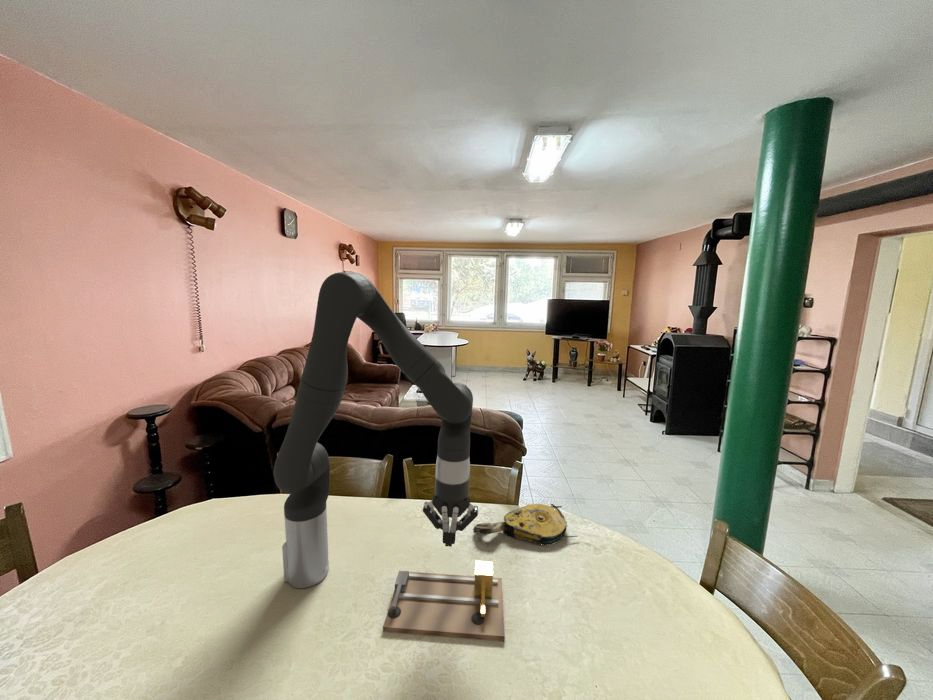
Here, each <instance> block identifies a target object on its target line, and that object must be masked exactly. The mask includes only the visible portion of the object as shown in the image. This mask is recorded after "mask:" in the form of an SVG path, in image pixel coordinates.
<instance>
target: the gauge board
mask: <svg viewBox="0 0 933 700" xmlns="http://www.w3.org/2000/svg"><path fill="white" fill-rule="evenodd" d="M502 580H503V579H502V578H501V577H493V583H492V599H488V598H485V618H484V619H482V618H481V598H474V588H475V575H474V576H473V575H464V574H463V575H460V574H449V573H448V574H447V573H446V574H445V573H434V572H418V571H417V572H416V571H408V570H399V571H398V573H397V576H396V579H395V582H394V591H393V594H392V597H391V600H390V603H389V607H388V610H387V612H386V615H385V619H384V622H383V626H382V632H383V633H395V634H407V635H417V636H418V635H419V636H432V637H443V638H457V639H469V640H470V639H471V640H482V641H493V642H495V641H496V642H505V636H506V635H505V622H504V620H505V617H504V600H503V598H504V597H503V581H502Z"/></svg>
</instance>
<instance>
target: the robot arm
mask: <svg viewBox="0 0 933 700" xmlns="http://www.w3.org/2000/svg"><path fill="white" fill-rule="evenodd" d="M357 319H359V320H360V321H361V322H362V323H364V324H365V325H366V326H368V327H369V328H370V329H371V330H372V332H374V334H376V335H375V336H377V337H378V338H379V340H380V342H381V343H382V344H383V346H384V347H385V348H384V349H386V351H387V353H388V355H389V357H390V358H391V360H392V361H393V363H394V364H395V365H396V367H397V368H398V369H399V370H400V371H401V372H402V373H403V374H404V376H406V377H407V378H408V379H409V380H410V382H412V383H413V385H415V386H416V387H417V388H418V389H419V391H420V392H421V393H422V395H423V396H424V398H425V399H426V400H427V403H429V406H431V407H432V409H433V410H434V412H435V413H436V414H437V415H438V416H439V417H440V419H441V421H440V422H441V423H440V429H439V433H438V437H437V438H438V439H437V455H436V462H435V478H434V494H433V496H432V500H430V501H425V502H424V504H423V507H422V512H423V514H424V515H425V516H426V517H427V518H428V520H429V522H430V523H431V525H433V527H434V528H435V529H436V530H439V529H440V530H441V531H442V543H443V544H444V546H445V547H452V546H453V545H455V543H456V534H457V531H460V532H463V531H464V530H465V529H467V527H468V526H469V525H470V524H471V523H472V522H473V521H474V520H475V519H476V518H477V517H478V516H479V507H478V505H474V504H472V503H471V499H470V497H469V488H470V475H471V474H470V473H471V461H470V452H471V424H472V423H471V422H472V413H473V405H474V396H473V392H472V390H471V389H470V387H468V386H467V385H466V384H465V383H462V382H454V381H453V380H452V379H451V378H450V377H449V376H448V374H446V370H445V367H444V366H443V365H442V363H441V362H440V360H438V359H437V358H436V357H435V356H434V355H433V354H432V353H431V352H430V351H429V350H428V349H427V348H426V347H425V346H424V345H423V343H421V342H420V341H419V340H418V339H417V337H415V335H414V334H413V333H412V332H411V331H410V330H409V329H408V328H407V327H406V325H405V324H404V323H403V322H402V321H401V319H400V318H399V317H398V315H397V314H396V313H395V312H394V311H393V309H392V308H391V306H389V304H388V303H387V302H386V300H385V299H384V297H383V295H382V294H381V293H380V291H379V290H378V288H377V287H376V286H375V285H374V283H373V282H372V281H371V280H370V278H368V277H367V276H366V275H364V274H363V273H360V272H354V271H350V272H349V271H347V272H346V271H345V272H343V271H341V272H335V273H332V274H330V275H329V276H328V277H326V278H325V280H324V281H323V282H322V284H321V286H320V288H319V292H318V298H317V303H316V312H315V319H314V327H313V332H312V337H311V341H310V344H309V347H308V352H307V355H306V359H305V364H304V366H303V369H302V373H301V376H300V377H301V378H300V380H299V385H298V389H297V393H296V397H295V402H294V406H293V409H292V413H291V416H290V420H289V423H288V427H287V431H286V433H285V437H284V439H283V442H282V444H281V446H280V448H279V452H278V454H277V456H276V459H275V462H274V466H273V478H274V482H275V485H276V486H277V488H278V489H279V490H280V491H281V492H283V493H285V494H288V495H289V496H287V498H286V500H285V501H284V504H283V515H284V516H283V517H284V528H285V529H284V531H285V532H284V534H285V542H284V543H283V544H282V546H281V547H282V549H281V550H282V566H283V567H282V568H283V581H284V583H289V585H290V586H291V587H293V588H296V589H307V588H310V587H313V586H316V585H318V584H319V583H320V582H322V581H323V580H324V579H325V578H326V576H327V575H328V573H329V569H330V567H329V566H330V564H329V563H330V561H329V538H328V515H327V514H328V513H327V512H328V511H327V509H328V508H327V501H328V498H329V495H330V485H331V484H330V483H331V481H330V480H331V479H330V478H331V462H330V457H329V453H328V452H327V450H326V448H325V446H323V445H322V444H321V443H320V442H318V441H319V439H320V437H321V436H322V434H323V432H324V431H325V430H326V428H327V427H328V425H329V424H330V422H331V421H332V419H333V418H334V416H335V415H336V412H337V411H338V409H339V407H340V405H341V402H342V399H343V396H344V394H345V389H346V386H347V383H348V377H349V368H348V367H349V366H348V356H347V355H348V354H347V351H348V350H347V349H348V345H349V344H348V343H349V339H350V336H351V333H352V331H353V328H354V325H355V323H356V321H357ZM437 512H438V513H437ZM465 512H466V513H465ZM464 513H465V514H464ZM463 514H464V515H463ZM462 515H463V516H462ZM461 516H462V517H461ZM459 517H461V518H460V519H459V520H458V518H459ZM450 519H451V521H450ZM450 522H451V523H450Z"/></svg>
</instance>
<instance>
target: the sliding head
mask: <svg viewBox="0 0 933 700" xmlns="http://www.w3.org/2000/svg"><path fill="white" fill-rule="evenodd" d="M493 563H494V562H493V561H485V560H484V561H483V560H475V567H474V569H475V570H474V576H475V588H474V598H481V618H482V619H484V618H485V598H488V599H492V583H493V578H494V575H493V574H494V570H493V569H494V565H493Z"/></svg>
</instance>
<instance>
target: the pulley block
mask: <svg viewBox="0 0 933 700" xmlns="http://www.w3.org/2000/svg"><path fill="white" fill-rule="evenodd" d="M559 508H562V505H560V506H559V505H556V506H555V504H553V503H551V504H550V505H549V504H548V505H547V504H543V503H542V504H541V503H532V504H527V505H524V506H521V507H519V508H516V509H513V510H511V511H509V512H507V513H506V514H505V515H504V517H503V521H500V522H480V523H477V524H476V525H474V527H473V528H472V531H473V534H484V535H491V534H495V533H499V532H503V533H504V535H506V536H507V537H509V538H512V539H516V540H519V541H523V542H527V543H531V544H534V545H538V546H542V545H541V544H544V545H543V546H550V545H549V544H551V545H554V544H556V542H557V543H559V542H560V541H561V540H562V539H563V538H564V539H565V538H574V537H575V538H576V537H578V535H570V536H569V535H568V536H567V535H565V534H566V531H567V529H568V528H567V527H568V526H569V525H567V523H568V522H567V521H566V519H565V516H564V514H563V513H562V511H561V510H560V509H559ZM554 509H555V510H554ZM553 543H554V544H553ZM547 544H548V545H547Z"/></svg>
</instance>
